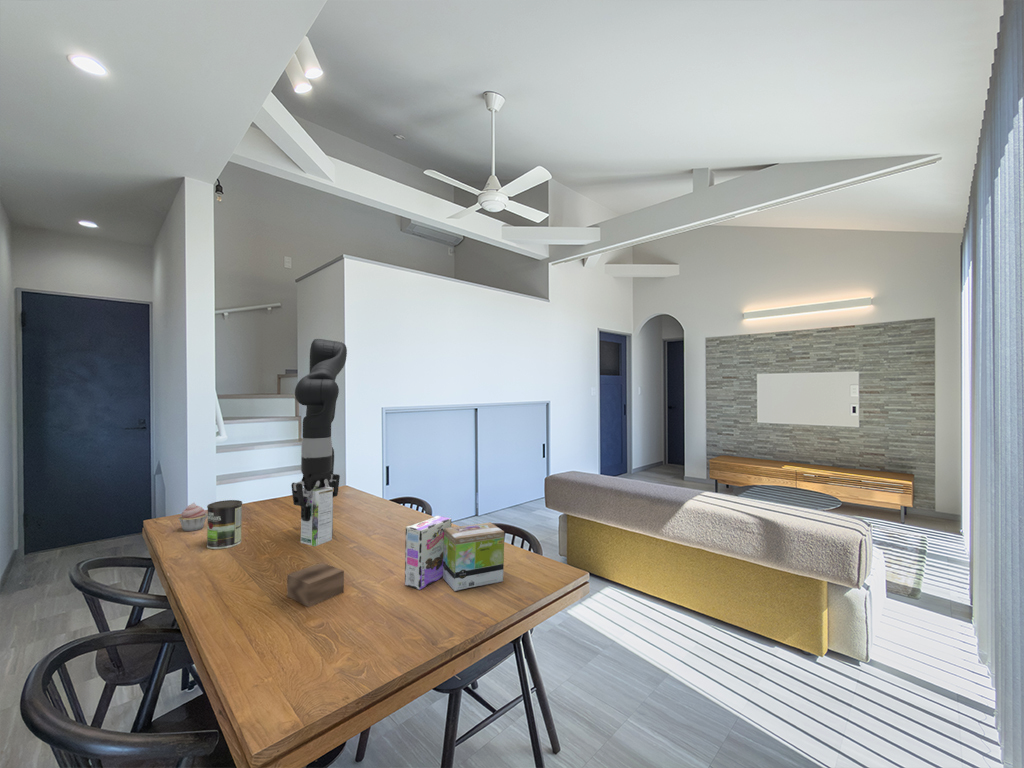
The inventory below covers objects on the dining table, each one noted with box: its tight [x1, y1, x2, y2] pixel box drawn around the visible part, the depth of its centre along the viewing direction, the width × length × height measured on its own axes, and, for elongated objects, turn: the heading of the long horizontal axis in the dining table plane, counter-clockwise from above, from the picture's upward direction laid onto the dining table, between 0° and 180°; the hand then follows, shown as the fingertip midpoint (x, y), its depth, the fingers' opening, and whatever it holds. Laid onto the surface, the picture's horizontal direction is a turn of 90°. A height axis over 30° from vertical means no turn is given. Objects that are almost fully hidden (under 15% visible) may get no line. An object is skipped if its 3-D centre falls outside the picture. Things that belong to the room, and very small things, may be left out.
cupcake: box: [178, 502, 208, 532], centre depth 173 cm, size 9×9×10 cm
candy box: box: [404, 515, 452, 590], centre depth 130 cm, size 14×6×16 cm, turn 149°
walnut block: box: [286, 562, 345, 608], centre depth 120 cm, size 10×10×6 cm
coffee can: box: [206, 499, 243, 550], centre depth 157 cm, size 10×10×14 cm
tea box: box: [442, 521, 505, 592], centre depth 129 cm, size 15×10×15 cm
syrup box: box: [300, 487, 334, 547], centre depth 120 cm, size 6×6×14 cm
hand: (316, 517), depth 120 cm, fingers closed on syrup box, 6 cm apart
